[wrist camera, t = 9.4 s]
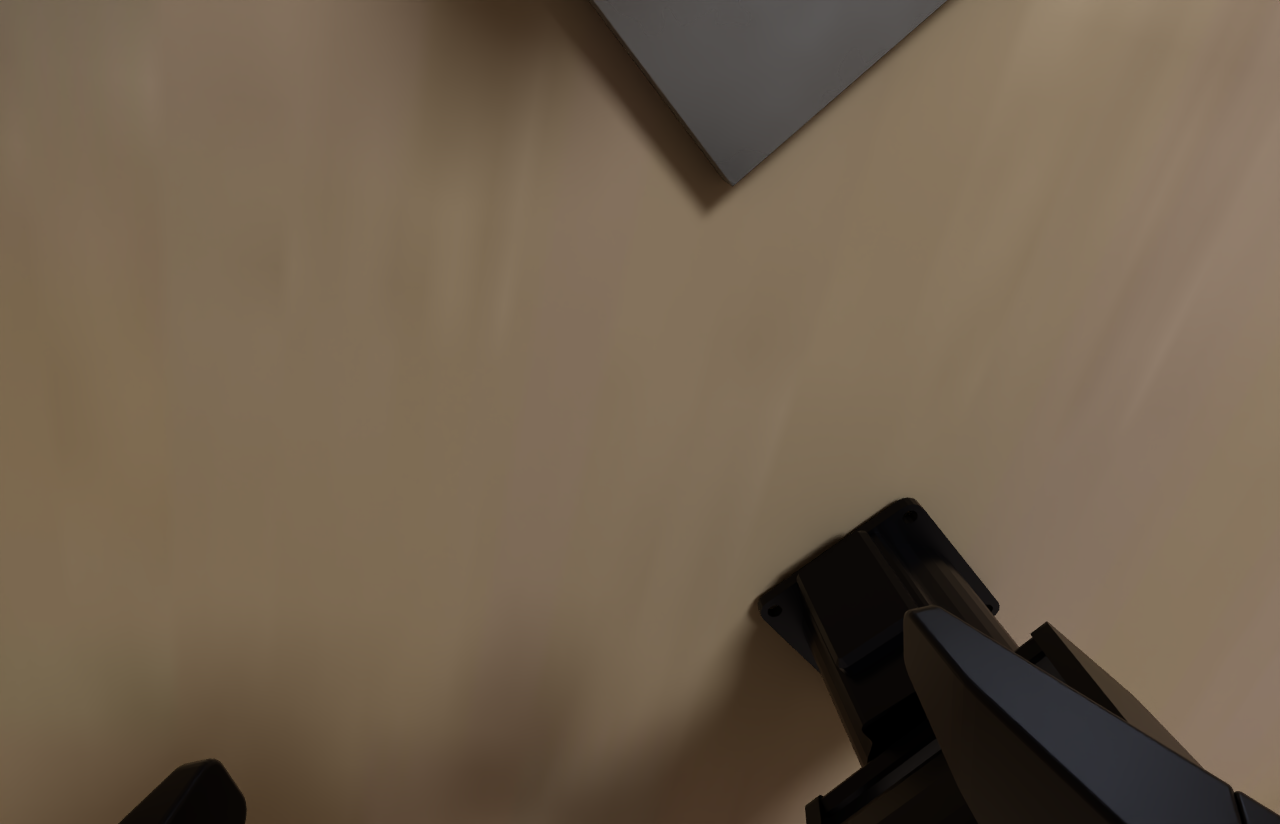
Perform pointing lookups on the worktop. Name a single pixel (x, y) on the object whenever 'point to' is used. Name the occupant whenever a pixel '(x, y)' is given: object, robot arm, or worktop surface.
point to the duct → (755, 62)
